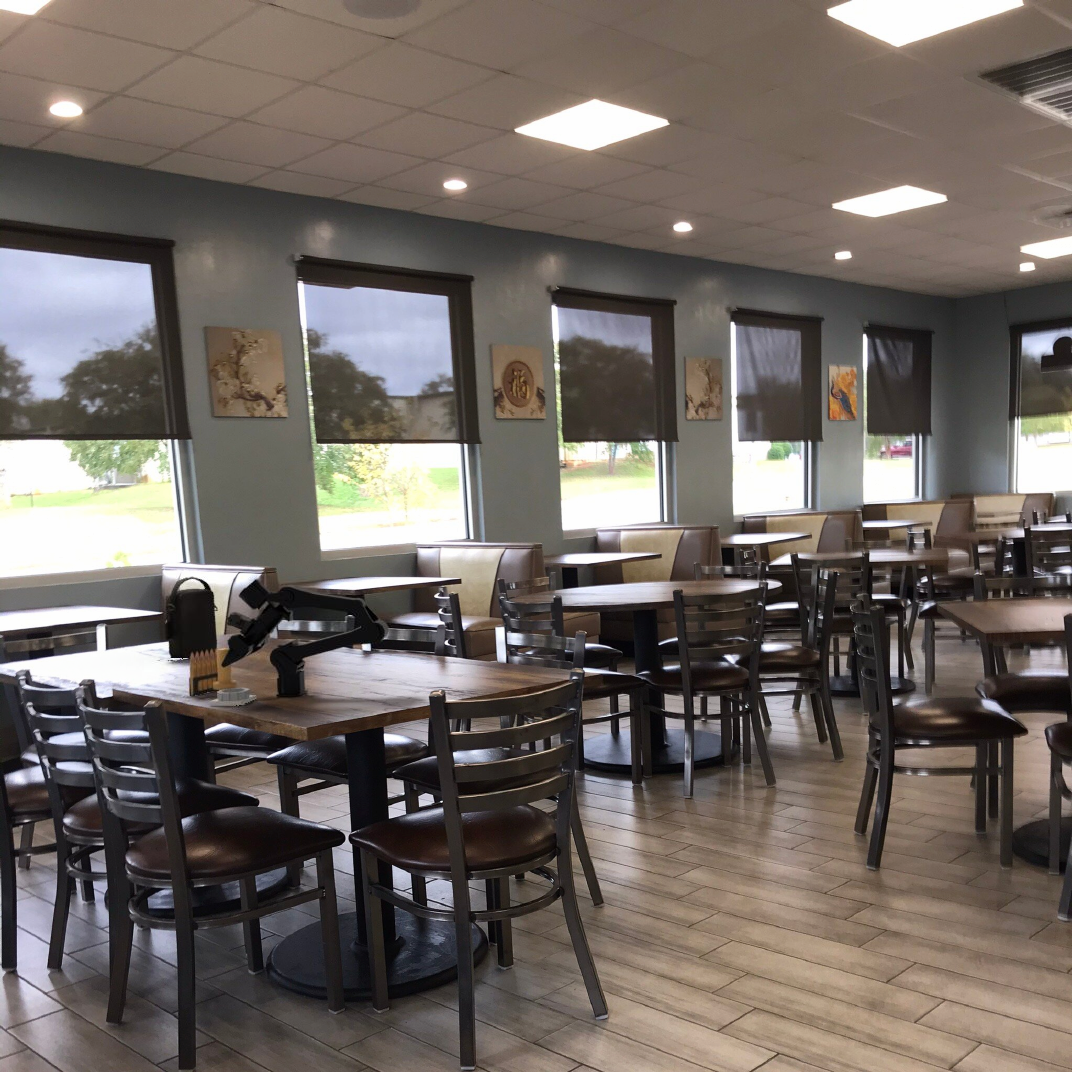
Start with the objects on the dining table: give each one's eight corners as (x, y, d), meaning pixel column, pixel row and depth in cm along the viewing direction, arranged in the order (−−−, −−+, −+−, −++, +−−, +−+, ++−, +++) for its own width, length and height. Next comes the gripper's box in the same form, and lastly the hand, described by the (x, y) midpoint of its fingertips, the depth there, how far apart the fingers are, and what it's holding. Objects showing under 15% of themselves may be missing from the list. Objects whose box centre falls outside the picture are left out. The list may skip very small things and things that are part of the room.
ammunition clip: (193, 696, 285) (191, 653, 285) (189, 696, 286) (187, 652, 285) (223, 689, 294) (221, 647, 294) (218, 689, 295) (216, 647, 295)
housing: (256, 699, 277) (255, 687, 277) (241, 705, 268) (240, 693, 268) (226, 699, 278) (226, 687, 278) (210, 705, 270) (209, 693, 270)
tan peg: (242, 694, 285) (240, 647, 284) (230, 699, 279) (228, 650, 278) (220, 694, 286) (218, 647, 286) (209, 699, 280) (206, 651, 279)
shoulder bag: (175, 661, 353) (171, 579, 352) (157, 660, 358) (153, 579, 357) (225, 652, 373) (221, 574, 372) (207, 651, 377) (203, 574, 376)
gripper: (255, 598, 291) (217, 638, 291) (233, 605, 272) (193, 648, 273) (284, 625, 291) (246, 666, 291) (264, 634, 272) (225, 677, 273)
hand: (228, 663), depth 282 cm, fingers open, 9 cm apart
